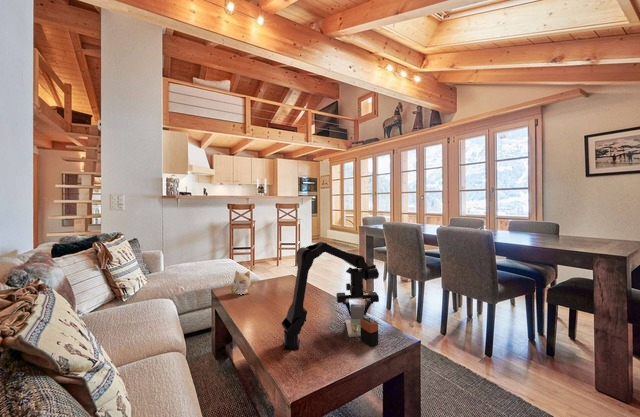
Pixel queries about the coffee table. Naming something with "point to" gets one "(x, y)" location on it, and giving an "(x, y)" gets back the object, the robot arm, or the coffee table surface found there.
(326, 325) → the coffee table surface
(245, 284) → the kitten
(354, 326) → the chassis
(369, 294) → the robot arm
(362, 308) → the grey block
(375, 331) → the battery
